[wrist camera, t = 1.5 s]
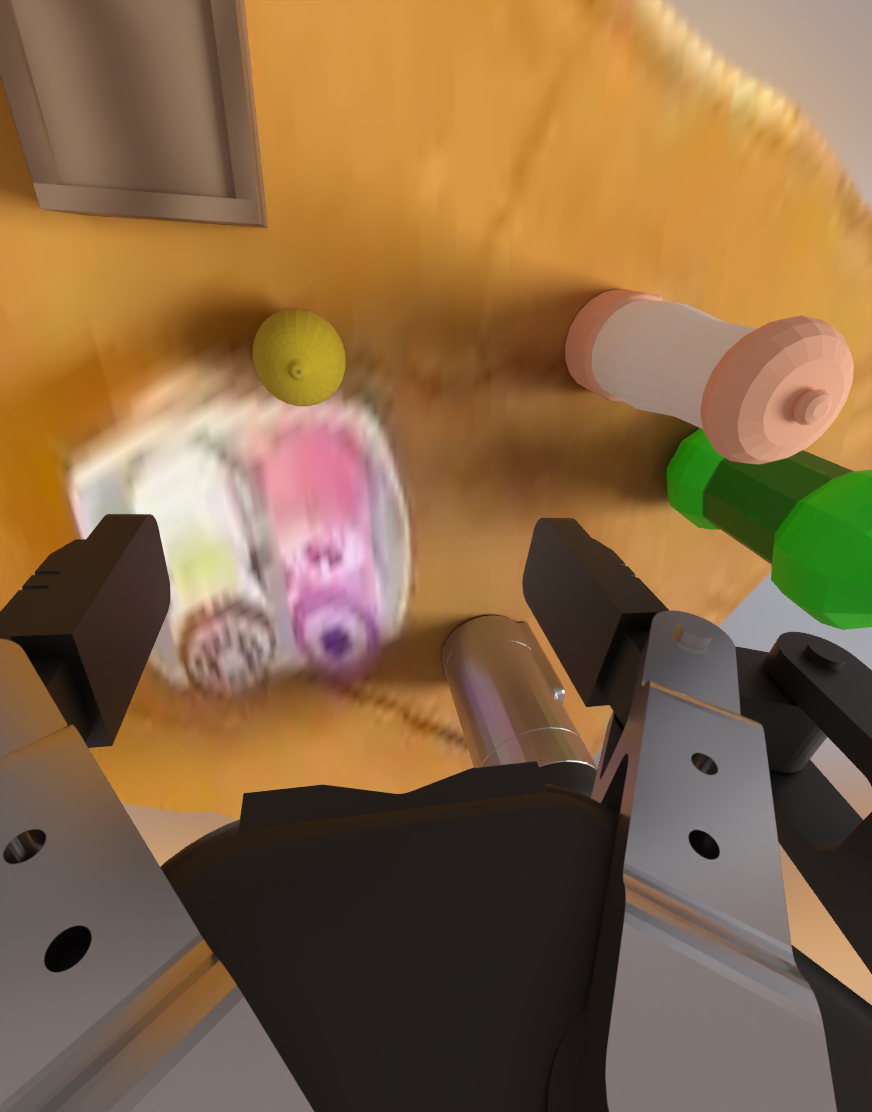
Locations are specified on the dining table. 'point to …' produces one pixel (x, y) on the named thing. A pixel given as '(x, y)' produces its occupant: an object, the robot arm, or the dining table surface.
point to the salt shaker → (714, 371)
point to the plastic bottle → (787, 522)
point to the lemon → (299, 357)
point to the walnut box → (135, 107)
